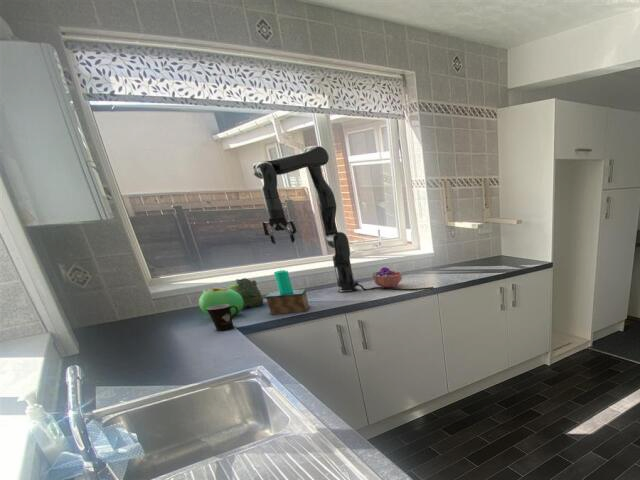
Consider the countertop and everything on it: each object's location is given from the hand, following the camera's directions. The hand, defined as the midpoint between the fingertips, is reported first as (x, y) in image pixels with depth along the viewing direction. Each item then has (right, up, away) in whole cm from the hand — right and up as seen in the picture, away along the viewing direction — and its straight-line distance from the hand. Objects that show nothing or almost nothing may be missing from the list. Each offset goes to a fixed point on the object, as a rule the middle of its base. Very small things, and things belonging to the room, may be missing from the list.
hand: (283, 243), depth 212 cm
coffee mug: (-12, -46, -23) cm, 53 cm away
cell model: (+40, -12, +44) cm, 61 cm away
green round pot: (-25, -38, -6) cm, 46 cm away
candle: (+3, -26, -3) cm, 26 cm away
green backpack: (-26, -31, +9) cm, 42 cm away
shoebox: (+3, -34, +1) cm, 34 cm away
